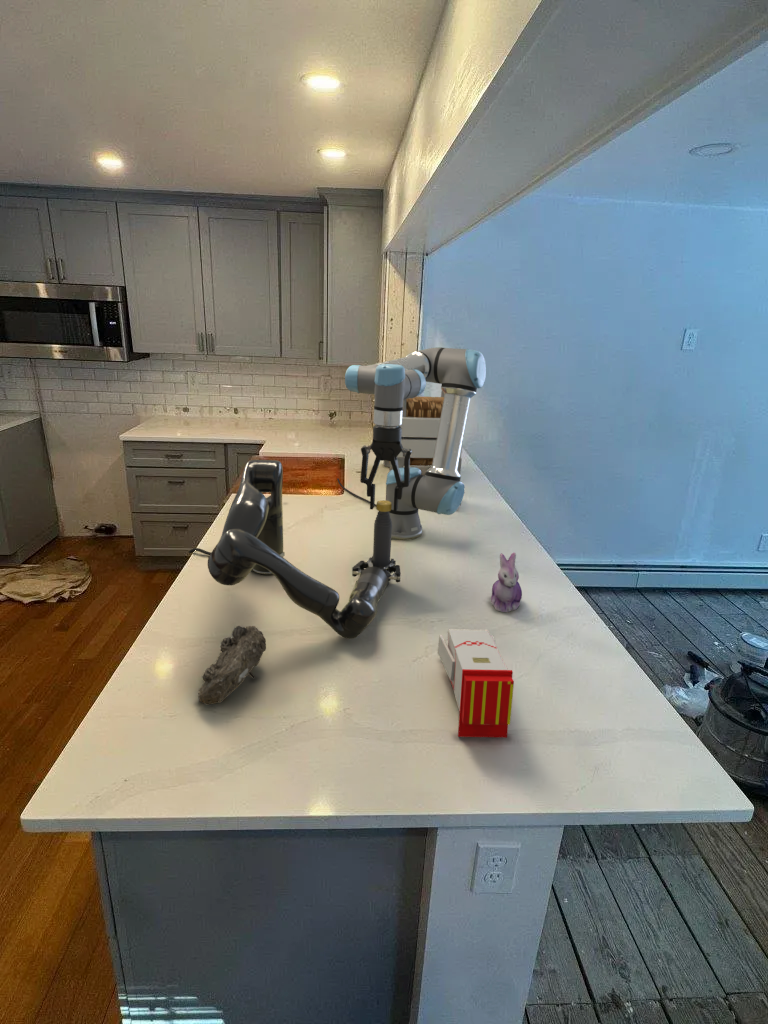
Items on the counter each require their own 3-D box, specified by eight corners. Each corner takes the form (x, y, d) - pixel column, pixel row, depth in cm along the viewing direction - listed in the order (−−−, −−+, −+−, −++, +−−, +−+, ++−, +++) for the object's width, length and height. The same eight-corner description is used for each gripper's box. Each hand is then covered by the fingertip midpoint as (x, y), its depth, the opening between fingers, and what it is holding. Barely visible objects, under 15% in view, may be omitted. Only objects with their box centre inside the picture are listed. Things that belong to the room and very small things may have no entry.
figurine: (503, 617, 148) (510, 564, 143) (480, 599, 156) (486, 549, 151) (531, 609, 152) (539, 558, 147) (507, 593, 161) (513, 544, 156)
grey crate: (382, 463, 289) (386, 382, 275) (445, 464, 293) (451, 384, 279) (390, 482, 257) (394, 392, 243) (460, 483, 261) (468, 394, 247)
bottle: (369, 580, 165) (372, 502, 157) (384, 578, 167) (388, 500, 159) (375, 588, 161) (379, 508, 153) (391, 585, 163) (395, 506, 154)
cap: (378, 512, 154) (378, 505, 153) (374, 507, 157) (374, 500, 157) (393, 511, 155) (393, 504, 154) (388, 506, 159) (389, 499, 158)
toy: (488, 613, 130) (523, 677, 101) (484, 667, 133) (517, 744, 104) (435, 612, 130) (455, 676, 101) (432, 666, 133) (451, 743, 103)
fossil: (217, 628, 129) (265, 598, 124) (246, 656, 132) (293, 628, 127) (177, 698, 110) (231, 666, 105) (211, 729, 113) (266, 699, 108)
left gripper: (343, 595, 151) (358, 568, 167) (396, 602, 148) (406, 575, 164) (344, 570, 148) (359, 545, 164) (397, 577, 146) (408, 551, 162)
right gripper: (424, 425, 150) (419, 507, 158) (355, 420, 153) (353, 501, 161) (421, 431, 143) (416, 516, 151) (349, 425, 146) (347, 510, 154)
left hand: (383, 560), depth 164 cm, fingers closed on bottle, 5 cm apart
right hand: (383, 508), depth 156 cm, fingers open, 6 cm apart
